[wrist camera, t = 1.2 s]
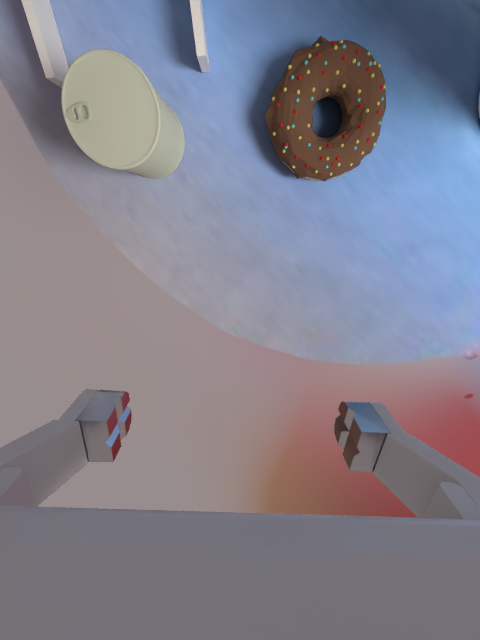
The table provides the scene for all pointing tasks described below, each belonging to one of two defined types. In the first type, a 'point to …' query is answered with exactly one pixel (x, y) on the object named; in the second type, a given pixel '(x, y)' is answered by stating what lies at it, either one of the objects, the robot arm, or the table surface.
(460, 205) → the table surface
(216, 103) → the table surface
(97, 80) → the can
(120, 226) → the table surface
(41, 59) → the tray
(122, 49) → the table surface
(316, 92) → the donut
